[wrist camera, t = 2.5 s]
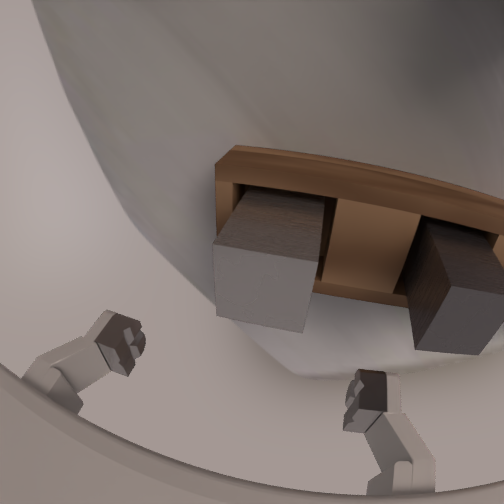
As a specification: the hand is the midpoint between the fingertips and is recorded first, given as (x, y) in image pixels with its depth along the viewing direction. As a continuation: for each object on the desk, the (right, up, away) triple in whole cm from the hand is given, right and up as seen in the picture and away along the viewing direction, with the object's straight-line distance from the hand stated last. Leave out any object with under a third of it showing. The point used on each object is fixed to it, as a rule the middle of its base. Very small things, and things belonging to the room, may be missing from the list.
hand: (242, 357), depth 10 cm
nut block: (+2, +6, +8) cm, 10 cm away
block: (+12, +4, +6) cm, 14 cm away
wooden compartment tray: (+12, +5, +7) cm, 14 cm away
